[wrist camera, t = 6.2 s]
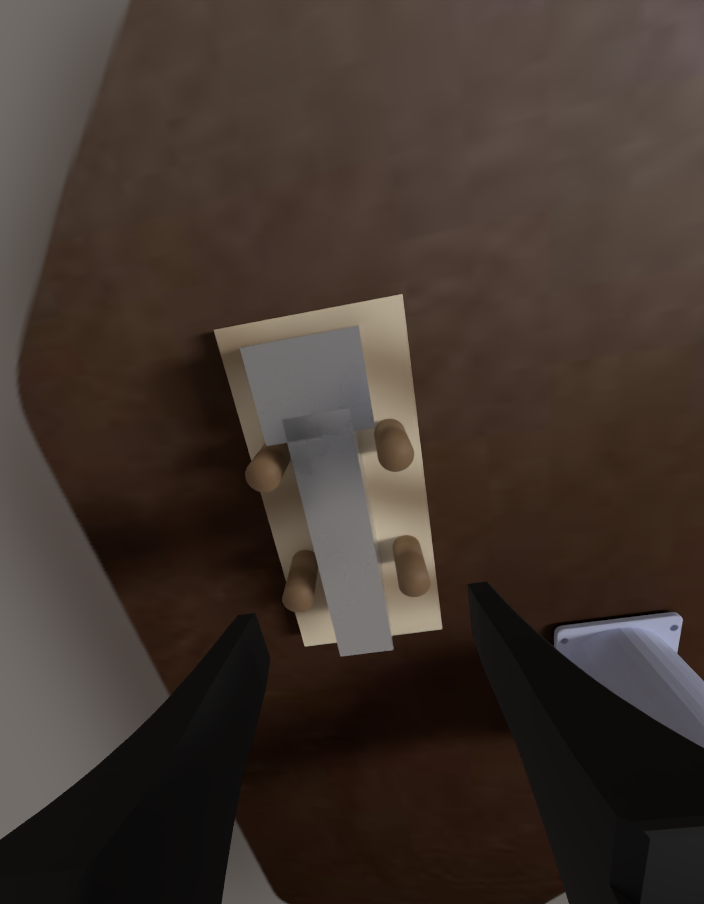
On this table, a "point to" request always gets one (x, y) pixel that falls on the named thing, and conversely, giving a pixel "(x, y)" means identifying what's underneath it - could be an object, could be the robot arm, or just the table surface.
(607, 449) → the table surface
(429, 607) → the peg cradle
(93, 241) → the table surface
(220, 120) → the table surface
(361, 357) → the bar
